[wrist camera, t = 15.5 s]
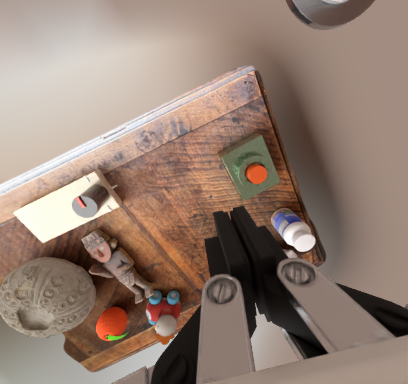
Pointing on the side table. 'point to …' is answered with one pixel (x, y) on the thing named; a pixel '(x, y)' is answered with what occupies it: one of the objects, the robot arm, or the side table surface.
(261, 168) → the button
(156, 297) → the toy car
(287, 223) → the pill bottle
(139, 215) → the side table surface
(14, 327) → the decorative shell
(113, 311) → the clementine
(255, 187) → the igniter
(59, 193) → the cream knob base plate
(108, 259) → the figurine
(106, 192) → the hob knob
